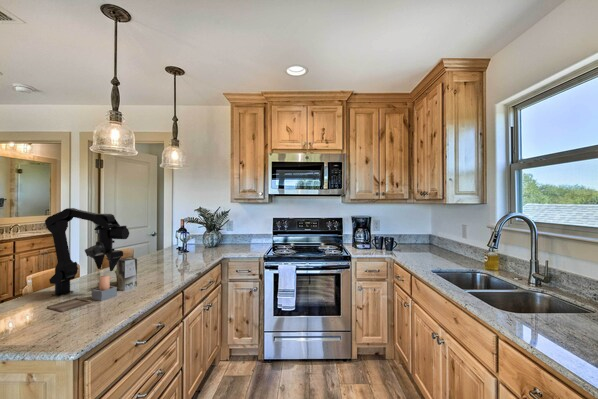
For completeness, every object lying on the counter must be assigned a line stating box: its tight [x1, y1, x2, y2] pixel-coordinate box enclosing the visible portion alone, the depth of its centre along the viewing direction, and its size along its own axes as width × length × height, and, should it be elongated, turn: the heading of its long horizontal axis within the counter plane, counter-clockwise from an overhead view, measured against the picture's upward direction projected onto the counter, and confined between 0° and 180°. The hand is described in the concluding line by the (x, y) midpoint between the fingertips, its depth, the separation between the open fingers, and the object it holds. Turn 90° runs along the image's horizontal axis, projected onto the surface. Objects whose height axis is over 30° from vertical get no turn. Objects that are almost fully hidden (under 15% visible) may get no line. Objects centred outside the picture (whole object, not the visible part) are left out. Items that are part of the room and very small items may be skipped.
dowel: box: [98, 274, 111, 291], centre depth 128 cm, size 4×4×10 cm
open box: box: [91, 285, 118, 302], centre depth 128 cm, size 7×7×5 cm
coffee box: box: [116, 256, 138, 292], centre depth 143 cm, size 9×6×16 cm
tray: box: [46, 297, 93, 313], centre depth 118 cm, size 11×11×1 cm
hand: (105, 270), depth 135 cm, fingers open, 9 cm apart
